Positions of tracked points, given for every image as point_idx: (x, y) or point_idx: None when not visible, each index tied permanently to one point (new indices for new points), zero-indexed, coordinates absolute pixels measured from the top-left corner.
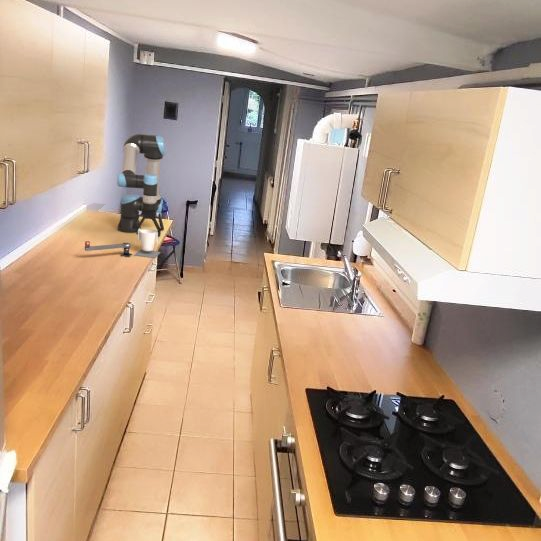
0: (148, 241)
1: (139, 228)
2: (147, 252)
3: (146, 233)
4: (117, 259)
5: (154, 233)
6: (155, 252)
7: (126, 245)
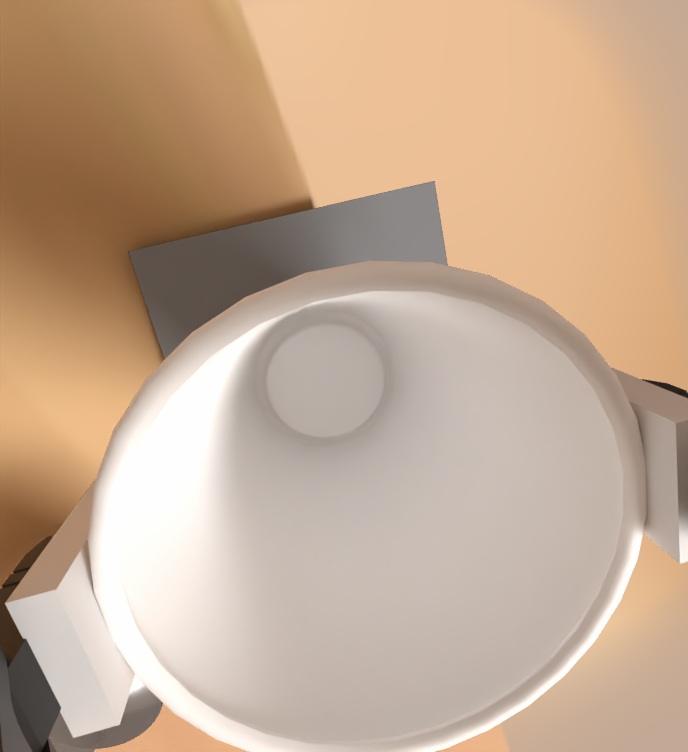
0: (418, 544)
1: (20, 620)
2: None
3: (447, 747)
4: (165, 720)
5: (616, 601)
6: (388, 260)
7: (138, 727)
